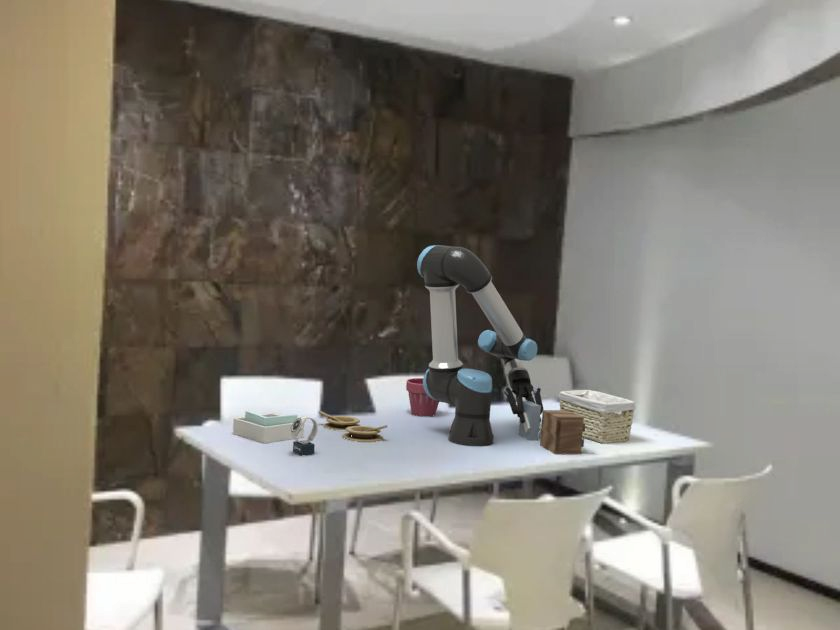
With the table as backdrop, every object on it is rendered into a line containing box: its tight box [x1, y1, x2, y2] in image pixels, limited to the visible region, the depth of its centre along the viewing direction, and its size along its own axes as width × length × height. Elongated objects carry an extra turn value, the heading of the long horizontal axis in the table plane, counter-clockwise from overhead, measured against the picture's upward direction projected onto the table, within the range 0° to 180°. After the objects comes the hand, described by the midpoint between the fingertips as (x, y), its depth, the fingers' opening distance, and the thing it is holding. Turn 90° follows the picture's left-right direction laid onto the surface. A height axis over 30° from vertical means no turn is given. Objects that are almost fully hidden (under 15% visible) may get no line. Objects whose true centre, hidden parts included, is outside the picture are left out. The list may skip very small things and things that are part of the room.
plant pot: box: [405, 377, 440, 417], centre depth 347 cm, size 14×14×13 cm
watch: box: [291, 415, 319, 457], centre depth 275 cm, size 6×8×11 cm
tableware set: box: [317, 410, 388, 443], centre depth 308 cm, size 30×20×6 cm, turn 29°
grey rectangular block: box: [518, 400, 541, 442], centre depth 317 cm, size 9×4×12 cm, turn 17°
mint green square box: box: [244, 410, 298, 427], centre depth 295 cm, size 12×12×8 cm
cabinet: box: [539, 409, 585, 455], centre depth 302 cm, size 12×10×12 cm
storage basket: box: [558, 389, 636, 444], centre depth 327 cm, size 24×16×15 cm
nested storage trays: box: [232, 412, 305, 444], centre depth 295 cm, size 16×16×5 cm
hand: (533, 430), depth 314 cm, fingers closed on grey rectangular block, 3 cm apart
